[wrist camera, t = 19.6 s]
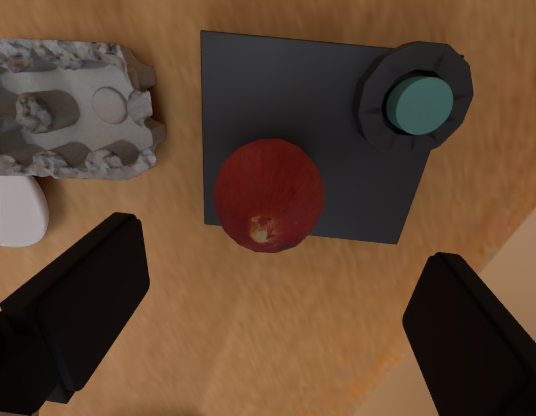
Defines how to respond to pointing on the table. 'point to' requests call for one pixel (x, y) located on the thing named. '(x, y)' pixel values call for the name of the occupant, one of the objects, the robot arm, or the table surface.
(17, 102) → the egg carton
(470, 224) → the table surface
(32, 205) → the white plastic spork
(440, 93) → the button
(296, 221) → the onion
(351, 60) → the scale
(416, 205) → the table surface
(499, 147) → the table surface
